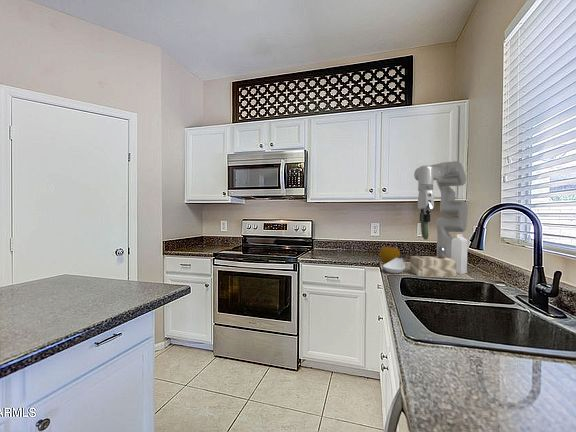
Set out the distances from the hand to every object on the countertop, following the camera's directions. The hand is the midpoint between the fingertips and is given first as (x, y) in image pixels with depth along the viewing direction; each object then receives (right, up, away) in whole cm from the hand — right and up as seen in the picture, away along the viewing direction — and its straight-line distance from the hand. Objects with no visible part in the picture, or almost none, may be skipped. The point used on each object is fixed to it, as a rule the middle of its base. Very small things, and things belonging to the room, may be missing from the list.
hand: (424, 221), depth 166 cm
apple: (-9, -29, +31) cm, 43 cm away
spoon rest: (-13, -29, +8) cm, 33 cm away
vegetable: (0, -11, 0) cm, 11 cm away
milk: (+22, -30, +6) cm, 38 cm away
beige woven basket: (+4, -29, 0) cm, 29 cm away
